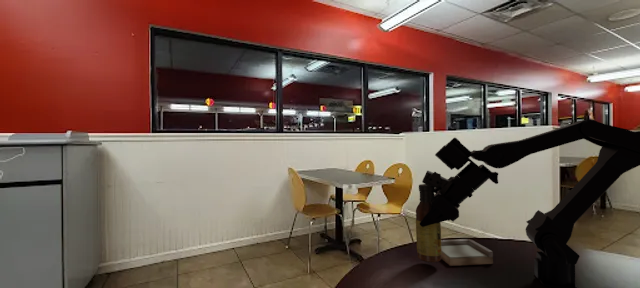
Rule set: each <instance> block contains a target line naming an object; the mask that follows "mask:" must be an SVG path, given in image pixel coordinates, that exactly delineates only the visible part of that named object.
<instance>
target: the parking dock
mask: <svg viewBox="0 0 640 288" xmlns="http://www.w3.org/2000/svg"><path fill="white" fill-rule="evenodd" d="M441 249H442V254H441V260H442V261H444V262H445V263H446V264H447V265H448V266H450V267H452V266H453V267H454V266H455V267H456V266H473V265H493V264H494V253H493V252H494V251H492V250H491V249H489V248H488V247H485V246H484V245H482V244H480V243H478V242H476V241H475V240H473V239H472V238H471V239H470V238H461V239H460V238H459V239H443V240H442V239H441Z"/></svg>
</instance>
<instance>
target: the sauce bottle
mask: <svg viewBox="0 0 640 288" xmlns="http://www.w3.org/2000/svg"><path fill="white" fill-rule="evenodd" d="M434 190H435V187H433V186H430V185H426V184H424V183H421V184H419V185H418V192H419V203H418V205H417V206H416V208H415V232H416V235H415V237H416V240H415V241H416V252H417V259H419V260H420V261H422V262H426V263H438V262H440V261H441V260H442V259H441V254H442V249H441V240H442V227H441V223H442V222H439V223H435V224H431V225H428V226H424V227H422V226H421V225H420V222H421V221H422V219H423V218H424V217H425V215H426V214H427V213H428V212H429V210H430V209H431V200H433V199H434V195H435V193H434Z"/></svg>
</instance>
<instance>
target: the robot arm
mask: <svg viewBox="0 0 640 288" xmlns="http://www.w3.org/2000/svg"><path fill="white" fill-rule="evenodd" d="M580 140H585V141H587V142H590V143H592V144H594V145H595V146H598V147H600V149H599V151H598V152H599V153H598V157H597V159H596V162H595V164H594V165H593V166H592V167H590V169H589V170H588V171H587V172H586V173H585V174H584V175H583V176H582V177H581V179H580V180H579V181H578V182H577V183H576V184H575V185H574V186H573V187H572V188H571V190H569V191H568V192H567V193H566V195H564V197H563V198H562V199H561V200H560V201H559V202H558V203H557V204H556V206H555V207H553V208H552V209H551V210H548V211H546V212H545V213H544V212H543V211H540V210H539V209H538V210H537V211H535V213H534V215H532V217H531V218H530V219H529V220H526V223H527V225H526V227H525V234H526V237H527V238H528V240H530V241H531V243H533V244H534V245H535V246H536V248H537V250H539V251H536V257H534V258H533V267H534V268H533V270H534V271H533V274H534V276H535V277H536V278H537V279H538V281H539V282H540V283H541V284H542V285H543V286H545V287H549V288H580V287H578V285H577V284H576V264H577V263H578V261H579V259H580V254H578V253H577V252H576V251H575V250H574V249H573V248H571V246H569V244H568V242H569V241H570V239H571V237H572V234H573V230H574V227H575V225H576V222H578V220H580V218H581V217H583V215H585V213H586V212H587V211H588V210H589V209H591V207H592V206H593V205H594V204H595V203H596V202H597V201H598V200H599V199H600V198H601V197H602V196H603V195H604V194H605V193H606V191H607V190H609V188H610V187H611V186H612V185H614V183H616V181H617V180H618V179H619V178H620V177H621V176H623V174H625V173H627V172H629V171H631V170H634V169H636V168H637V167H640V130H635V131H632V130H630V129H626V128H622V127H618V126H616V125H615V126H614V125H610V124H606V123H603V122H600V121H598V120H595V119H589V118H588V119H584V120H583V119H582V120H577V121H575V122H573V123H570V124H569V125H565V126H561V127H558V128H555V129H552V130H548V131H545V132H542V133H539V134H535V135H533V136H529V137H526V138H523V139H521V140H520V139H519V140H514V141H505V142H499V143H492V144H488V145H486V146H484V147H483V149H479V150H476V149H474V150H469V149H468V148H467V147H466V146H465V145H464V144H462V143H461V140H459V139H458V138H457V137H453V138H452V139H451V140H450V141H449V142H448V143H446V144H445V145H443V146H442V147H441V148H440V149H439V150H438V151H437V152H436V153H435V154H434V156H435V157H437V158H438V159H439V160H440V161H441V162H442V163H443V164H444V165H445V166H446V167H448V168H449V169H450V170H453V169H456V170H457V171H458V173H456V175H455V176H450V177H449V178H445V177H443V176H441V173H438V172H436V171H433V172H432V171H430V170H426V173H425V175H424V177H423V179H422V181H421V182H422V184H426V185H430V186H433V187H435V190H434V199H433V200H431V209H430V210H429V212H428V213H427V214H426V215H425V217H424V218H423V219H422V221H421V222H420V225H421V226H422V227H424V226H428V225H431V224H435V223H439V222H440V223H442V222H446V221H451V222H455V221H456V220H457V219H458V218H460V210H459V208H460V207H461V205H460V204H462V203H463V202H464V201H465V200H466V199H467V198H470V199H471V197H473V196H474V194H473V193H474V192H475V191H477V190H478V189H479V188H480V187H481V186H482V185H483V184H485V183H486V182H487V181H489V180H490V181H491V182H492V183H494V184H495V185H497V184H499V172H497V171H491V170H490V169H489V168H488V167H491V168H494V169H503V168H506V167H509V166H511V165H514V164H516V163H517V162H519V161H521V160H522V159H524V158H525V157H527V156H530V155H534V154H537V153H540V152H544V151H547V150H551V149H553V148H557V147H559V146H563V145H568V144H570V143H573V142H576V141H577V142H578V141H580ZM472 159H473V160H475V161H479V162H483V163H484V164H485V165H487V166H488V167H487V166H485V165H484V164H480V165H478V164H477V163H475V162H474V161H473V160H472ZM467 163H468V164H467ZM465 165H466V166H465ZM464 166H465V167H464ZM460 169H461V170H460Z"/></svg>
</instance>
